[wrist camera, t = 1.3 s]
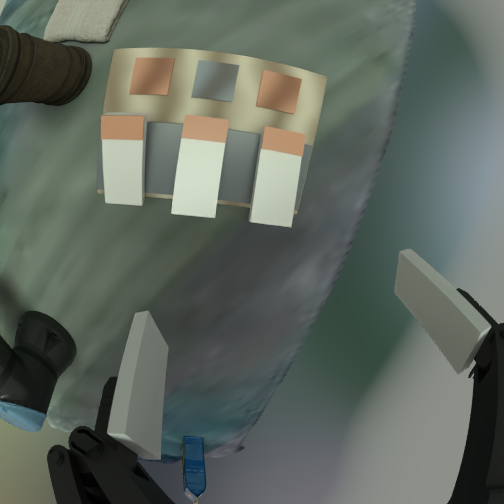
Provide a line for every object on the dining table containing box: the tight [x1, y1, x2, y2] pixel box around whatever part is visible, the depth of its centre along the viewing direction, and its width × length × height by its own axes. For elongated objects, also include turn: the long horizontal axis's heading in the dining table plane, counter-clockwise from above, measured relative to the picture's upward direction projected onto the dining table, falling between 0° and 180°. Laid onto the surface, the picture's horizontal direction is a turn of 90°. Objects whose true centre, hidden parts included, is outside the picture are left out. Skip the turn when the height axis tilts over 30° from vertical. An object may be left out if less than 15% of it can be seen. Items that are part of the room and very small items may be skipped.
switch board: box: [98, 48, 327, 214], centre depth 31 cm, size 28×20×2 cm
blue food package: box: [182, 436, 206, 504], centre depth 61 cm, size 6×12×25 cm, turn 164°
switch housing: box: [97, 121, 313, 211], centre depth 30 cm, size 24×8×5 cm, turn 79°
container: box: [0, 25, 91, 106], centre depth 16 cm, size 9×9×18 cm
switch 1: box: [101, 112, 148, 206], centre depth 24 cm, size 4×10×2 cm, turn 169°
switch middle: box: [171, 115, 229, 218], centre depth 26 cm, size 4×10×2 cm, turn 169°
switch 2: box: [248, 126, 306, 227], centre depth 28 cm, size 4×10×2 cm, turn 169°
